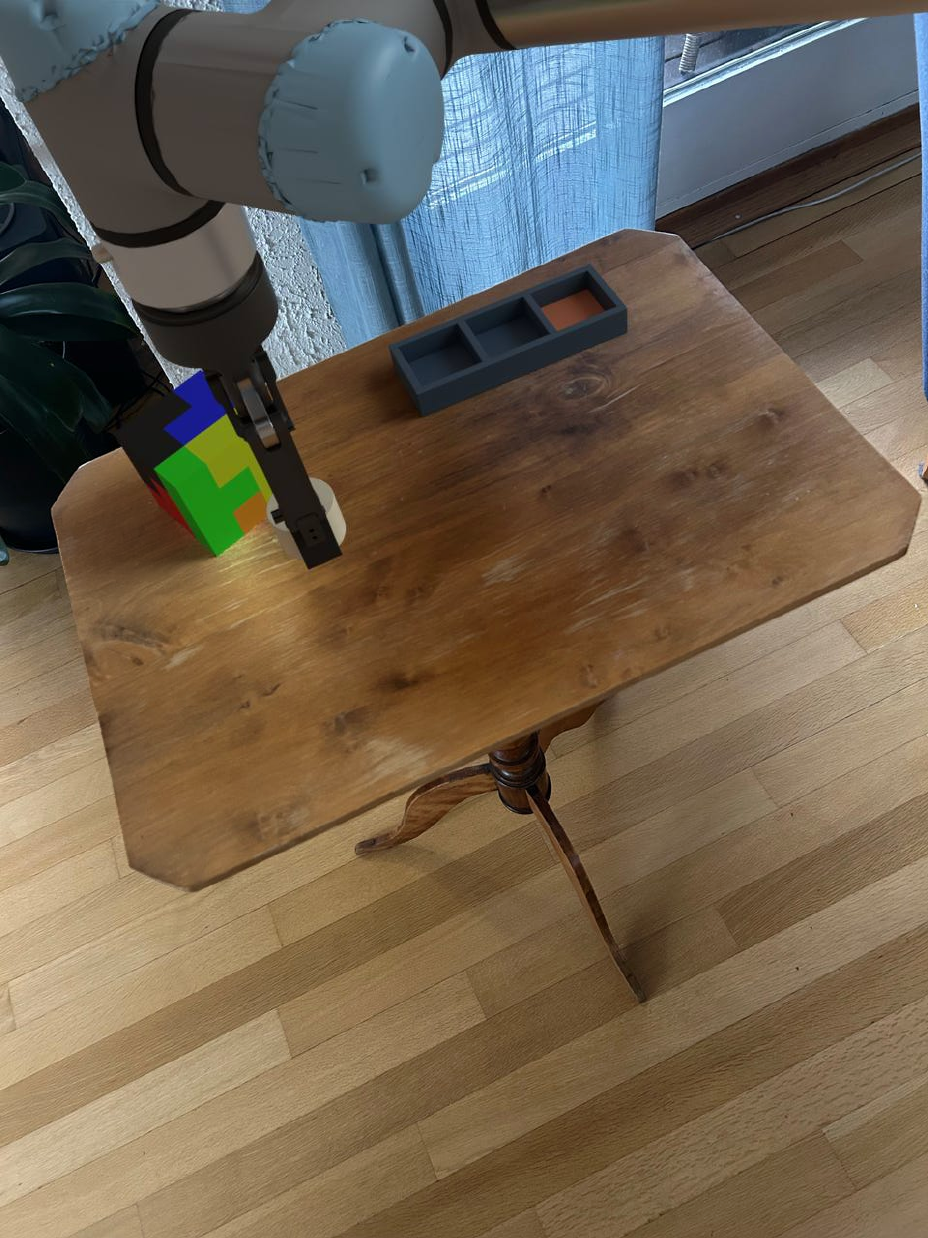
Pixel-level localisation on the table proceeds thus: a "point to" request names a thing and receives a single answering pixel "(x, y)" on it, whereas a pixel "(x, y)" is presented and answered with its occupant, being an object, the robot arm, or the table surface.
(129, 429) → the puzzle toy
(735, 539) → the table surface
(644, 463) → the table surface
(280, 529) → the cylinder
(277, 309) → the robot arm
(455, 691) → the table surface
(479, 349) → the grid
